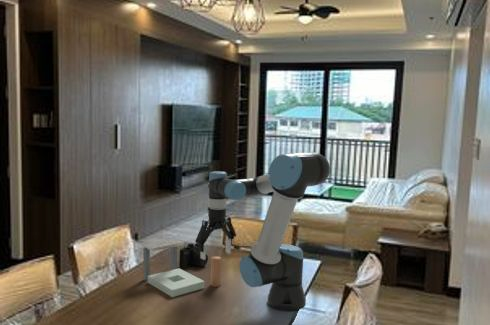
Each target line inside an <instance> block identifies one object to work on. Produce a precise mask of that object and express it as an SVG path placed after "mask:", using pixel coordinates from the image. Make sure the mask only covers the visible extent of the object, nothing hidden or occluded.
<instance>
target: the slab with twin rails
mask: <svg viewBox="0 0 490 325" xmlns="http://www.w3.org/2000/svg"><path fill="white" fill-rule="evenodd" d="M142 246H143V247H142V248H143V250H142V251H143V269H142V270H143V273H142V274H143V275H142V276H143V278H142V279H143V281H145V282H148V276H149V275H150V274H151V273H150V270H151V269H150V268H151V267H150V266H151V261H150V260H151V258H150V257H151V256H150V255H151V254H150V253H151V252H156V251H161V250H164V249H165V250H166V249H170V270H174V269H178V247H180V246H185V242H184V241H183V240H180V239H177V238H169V239H164V240H158V241H154V242H149V243H148V242H147V243H143V245H142Z"/></svg>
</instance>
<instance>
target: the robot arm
mask: <svg viewBox="0 0 490 325" xmlns="http://www.w3.org/2000/svg"><path fill="white" fill-rule="evenodd" d="M330 173H331V165H330V162H329V161H328V159H327V158H326V157H325V156H324V155H322V154H320V153H319V152H299V153H298V152H297V153H294V152H286V153H282V154H279V155H277V156H276V157H275V158H273V160H272V161H271V163H270V165H269V168H268V173H266V174H263V175H259V176H256V177H251V178H241V179H237V178H236V179H231V178H228V173H227V172H226V171H220V170H219V171H218V170H217V171H216V170H215V171H210V173H209V178H208V214H207V215H208V216H207V217H208V220H206V219H205V220H204V219H203V220H202V221H201V227H200V229H199V231H198V233H197V236H196V239H195V244H196V243H198V244H199V251H200V252H201V255H200V258H201V259H203V260H206V254H207V252H206V251H207V244H206V243H207V240H208V239H209V237H210V236H211V234H212V233H213V232H214V231H217V230H222V231H223V233H224V234H225V235H226V236H227V237H226V238H225V253H227V254H229V255H231V254H232V245H233V240H234V239H235V237H237V233H236V231H235V228H234V226H233V223H232V217H230V216H227V209H226V208H227V199H229V200H233V201H240V200H242V199H243V198H247V197H256V196H257V197H258V196H264V195H268V194H269V193H272V195H271V199H270V202H269V206H268V209H267V211H266V214H265V218H264V221H263V224H262V227H261V228H260V233H259V235H258V240H257V241H256V243H255V244H253V245H252V246H251V248H250V250H249V253H248V255H245V256H243V257H241V259H240V260H239V266H238V267H239V272H240V275H241V278H242V280H243V281H244V283H245V284H246V285H247V287H248V286H249V287H250V288H257V287H262V286H267V285H270V284H271V286H270V289H269V293H268V295H267V304H268V305H269V306H270V307H271V308H273V309H276V310H279V311H287V312H293V311H299V310H302V309H304V308H305V307H306V304H307V297H306V295H305V292H304V287H303V271H304V269H303V268H304V252H303V249H302V248H301V247H299V246H296V245H292V244H288V243H287V244H286V243H283V241H284V238H285V235H286V233H287V230H288V228H289V224H290V221H291V219H292V216H293V214H294V210H295V207H296V205H297V202H298V200H300V199H303V197H304V196H305V192H306V190H307V187H313V186H319V185H322V184H324V182H326V181H327V179H328V178H329V177H330V176H329V175H330Z"/></svg>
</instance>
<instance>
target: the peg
mask: <svg viewBox="0 0 490 325" xmlns="http://www.w3.org/2000/svg"><path fill="white" fill-rule="evenodd" d="M210 286H211V287H215V288H217V287H220V286H222V257H220V256H211V258H210Z"/></svg>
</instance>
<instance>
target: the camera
mask: <svg viewBox="0 0 490 325" xmlns="http://www.w3.org/2000/svg"><path fill="white" fill-rule="evenodd" d="M200 255H201V252H200V251H199V244H198V243H196V242H195V244H194V243H191V242H190V243H188V244H187V246H185V245H183V247H182V248H180V249H179V259H178V261H179V262H178V263H179V265H178V266H179V267H178V268H180V269H185V268H187V267H189V266H190V267H191V266H194V267H195V266H199V267H205V266H206V265H207V263H208V261H209V256H208V254H207V253H206V260H203V259H201V258H200Z"/></svg>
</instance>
